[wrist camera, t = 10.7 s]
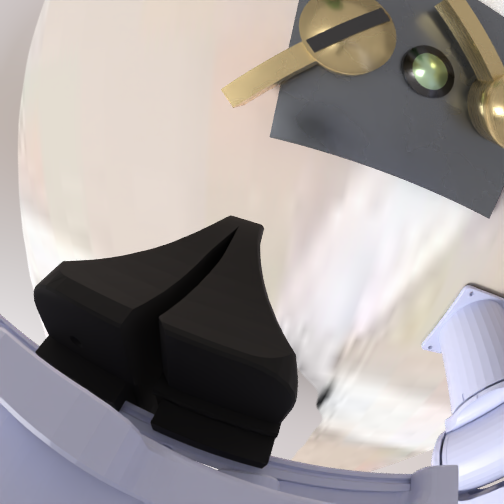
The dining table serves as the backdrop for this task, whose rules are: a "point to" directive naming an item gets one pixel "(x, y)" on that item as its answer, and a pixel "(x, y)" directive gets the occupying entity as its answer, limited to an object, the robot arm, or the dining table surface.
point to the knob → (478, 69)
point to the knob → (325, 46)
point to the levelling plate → (403, 108)
